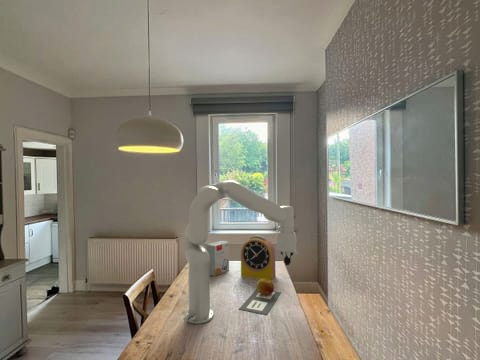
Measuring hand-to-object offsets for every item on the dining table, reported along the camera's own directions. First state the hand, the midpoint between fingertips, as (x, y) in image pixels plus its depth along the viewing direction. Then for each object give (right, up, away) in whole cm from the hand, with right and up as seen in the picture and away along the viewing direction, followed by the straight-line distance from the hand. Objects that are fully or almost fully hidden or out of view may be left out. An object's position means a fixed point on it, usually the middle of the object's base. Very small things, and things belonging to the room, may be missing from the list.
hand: (287, 264), depth 135 cm
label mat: (-14, -18, -2) cm, 23 cm away
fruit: (-11, -18, +5) cm, 21 cm away
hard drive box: (-40, -19, +41) cm, 60 cm away
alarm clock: (-13, -19, +33) cm, 40 cm away
